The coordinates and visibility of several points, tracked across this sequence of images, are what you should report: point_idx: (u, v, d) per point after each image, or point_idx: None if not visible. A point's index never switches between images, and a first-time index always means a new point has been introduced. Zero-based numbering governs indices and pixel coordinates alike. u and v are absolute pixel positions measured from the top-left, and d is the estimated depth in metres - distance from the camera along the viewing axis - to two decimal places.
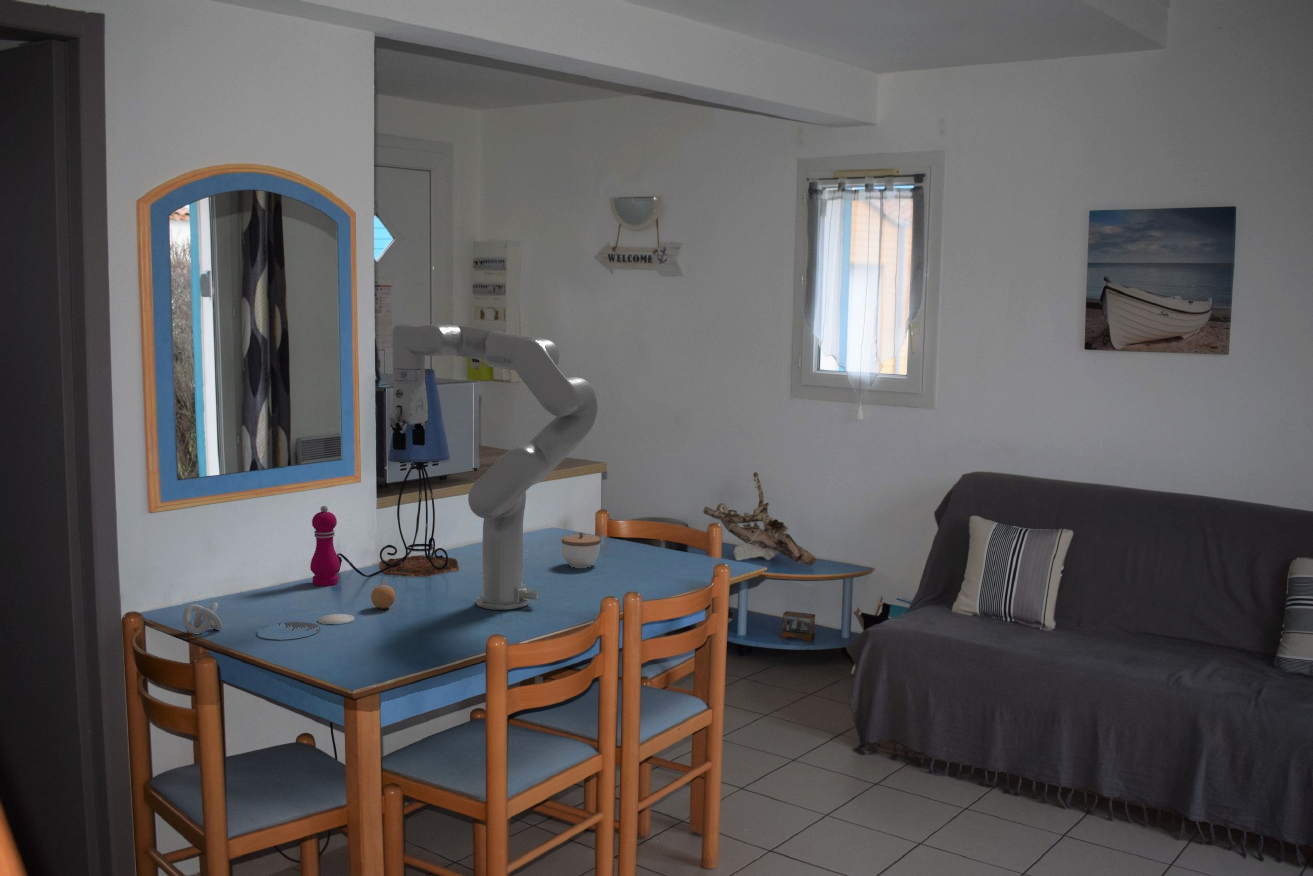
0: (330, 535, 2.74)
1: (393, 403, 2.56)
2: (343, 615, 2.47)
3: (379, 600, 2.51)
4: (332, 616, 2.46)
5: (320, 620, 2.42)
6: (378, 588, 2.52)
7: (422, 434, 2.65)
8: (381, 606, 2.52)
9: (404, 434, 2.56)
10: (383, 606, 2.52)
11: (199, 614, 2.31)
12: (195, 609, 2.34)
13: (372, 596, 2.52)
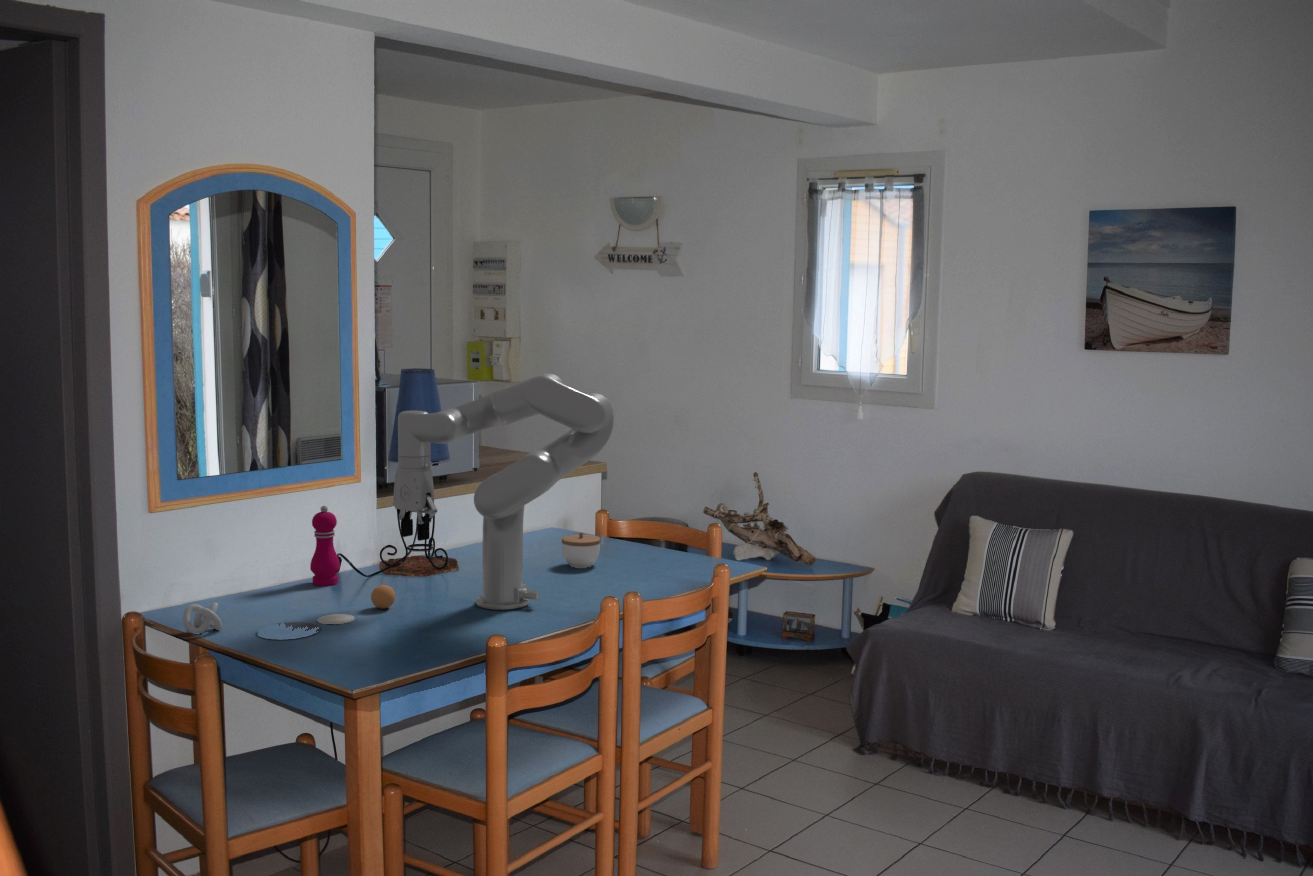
0: (330, 535, 2.74)
1: None
2: (343, 615, 2.47)
3: (379, 600, 2.51)
4: (332, 616, 2.46)
5: (320, 620, 2.42)
6: (378, 588, 2.52)
7: None
8: (381, 606, 2.52)
9: None
10: (383, 606, 2.52)
11: (199, 614, 2.31)
12: (195, 609, 2.34)
13: (372, 596, 2.52)
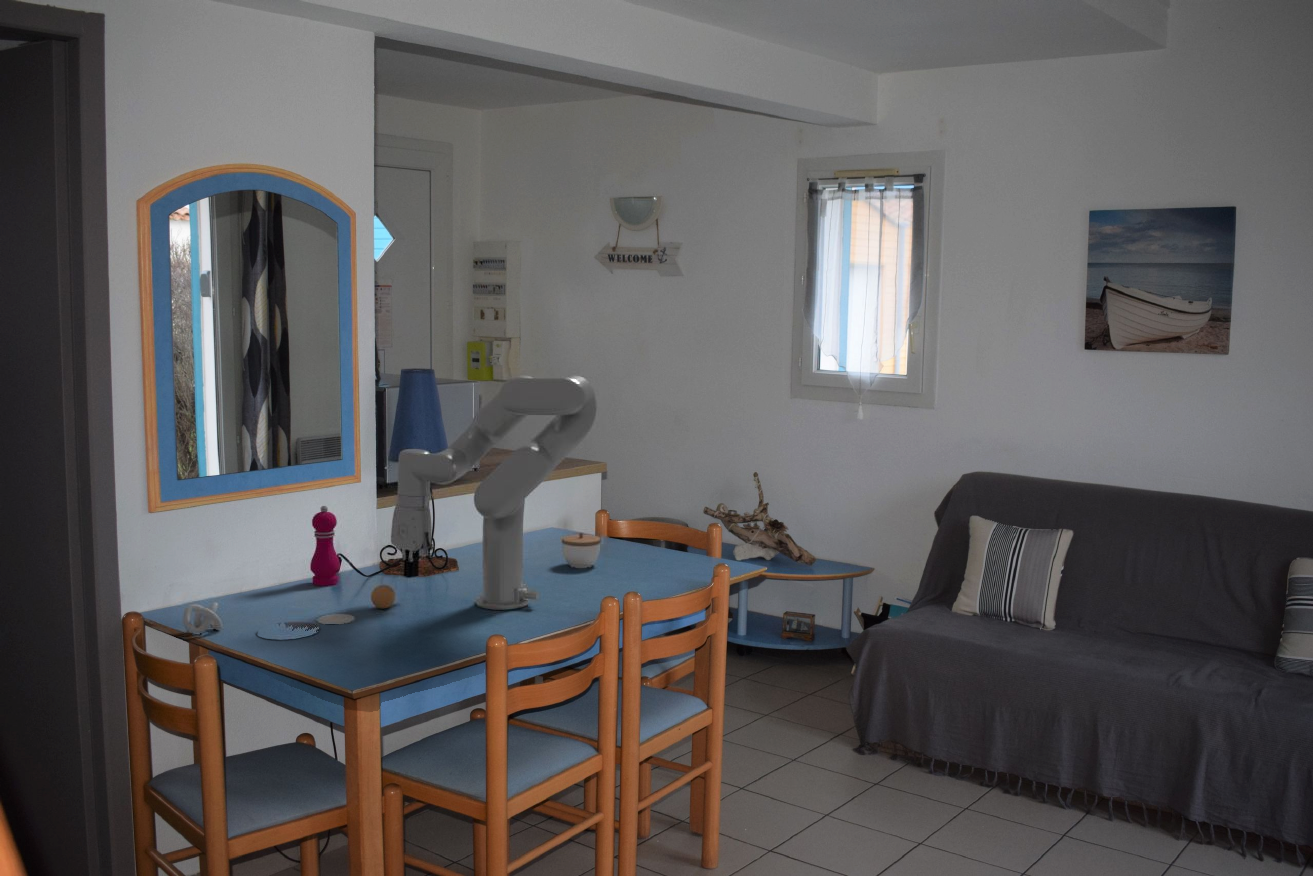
0: (330, 535, 2.74)
1: None
2: (343, 615, 2.47)
3: (379, 600, 2.51)
4: (332, 616, 2.46)
5: (320, 620, 2.42)
6: (378, 588, 2.52)
7: None
8: (381, 606, 2.52)
9: None
10: (383, 606, 2.52)
11: (199, 614, 2.31)
12: (195, 609, 2.34)
13: (372, 596, 2.52)
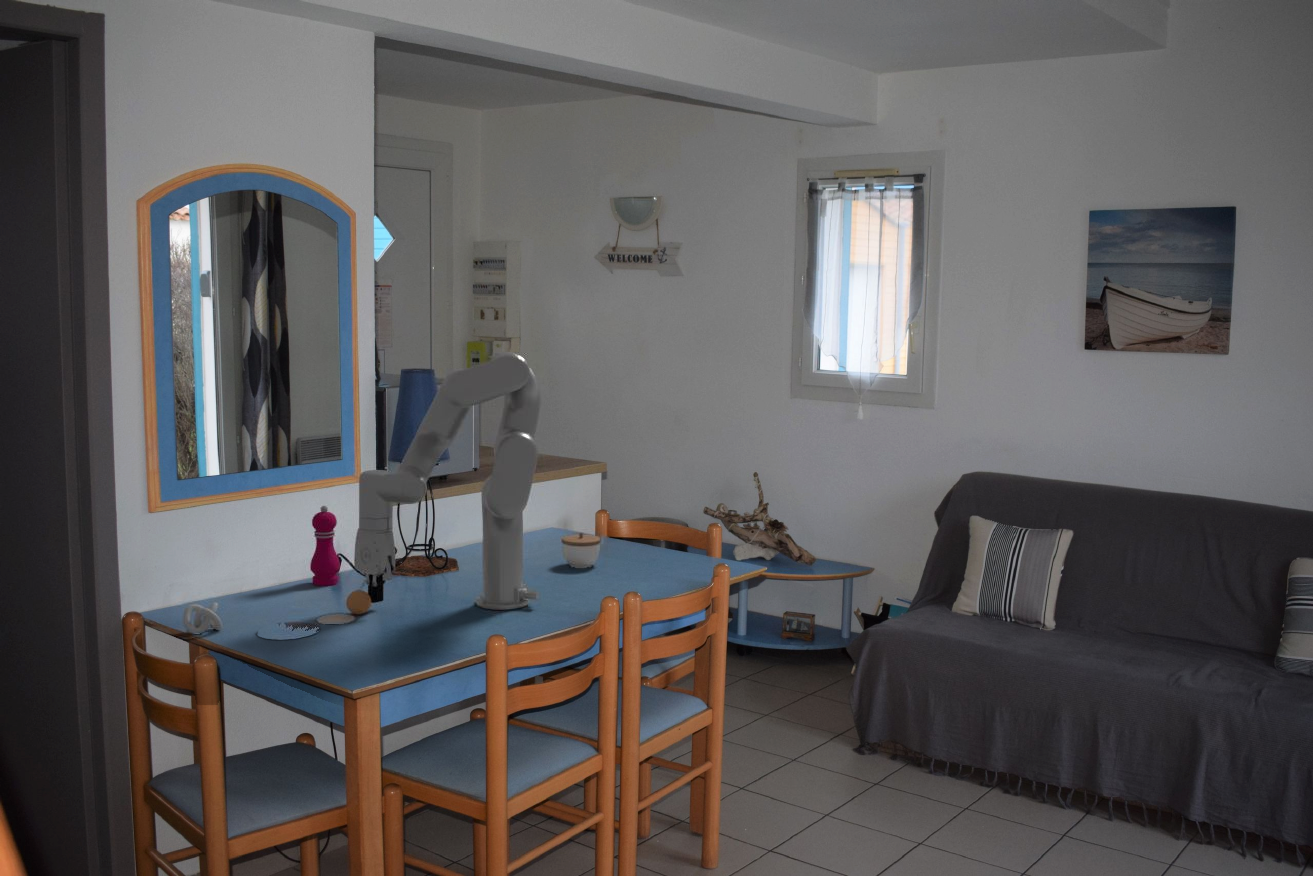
0: (330, 535, 2.74)
1: None
2: (343, 615, 2.47)
3: None
4: (332, 616, 2.46)
5: (320, 620, 2.42)
6: None
7: None
8: None
9: None
10: (370, 601, 2.49)
11: (199, 614, 2.31)
12: (195, 609, 2.34)
13: None
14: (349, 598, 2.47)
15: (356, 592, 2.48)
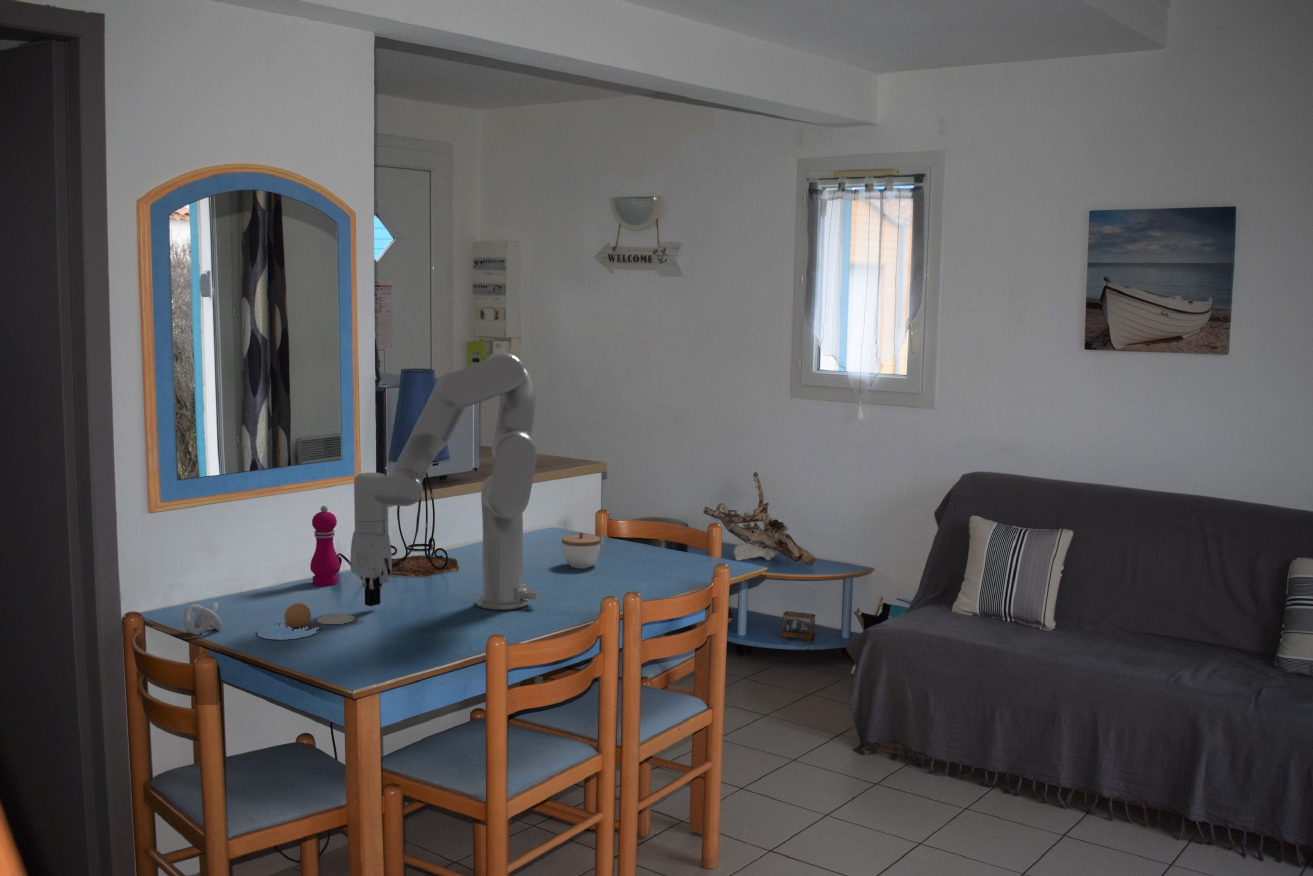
0: (330, 535, 2.74)
1: None
2: (343, 615, 2.47)
3: (302, 627, 2.36)
4: (332, 616, 2.46)
5: (320, 620, 2.42)
6: (289, 625, 2.35)
7: None
8: (308, 622, 2.38)
9: None
10: (309, 620, 2.37)
11: (199, 614, 2.31)
12: (195, 609, 2.34)
13: None
14: (292, 606, 2.36)
15: (301, 604, 2.37)
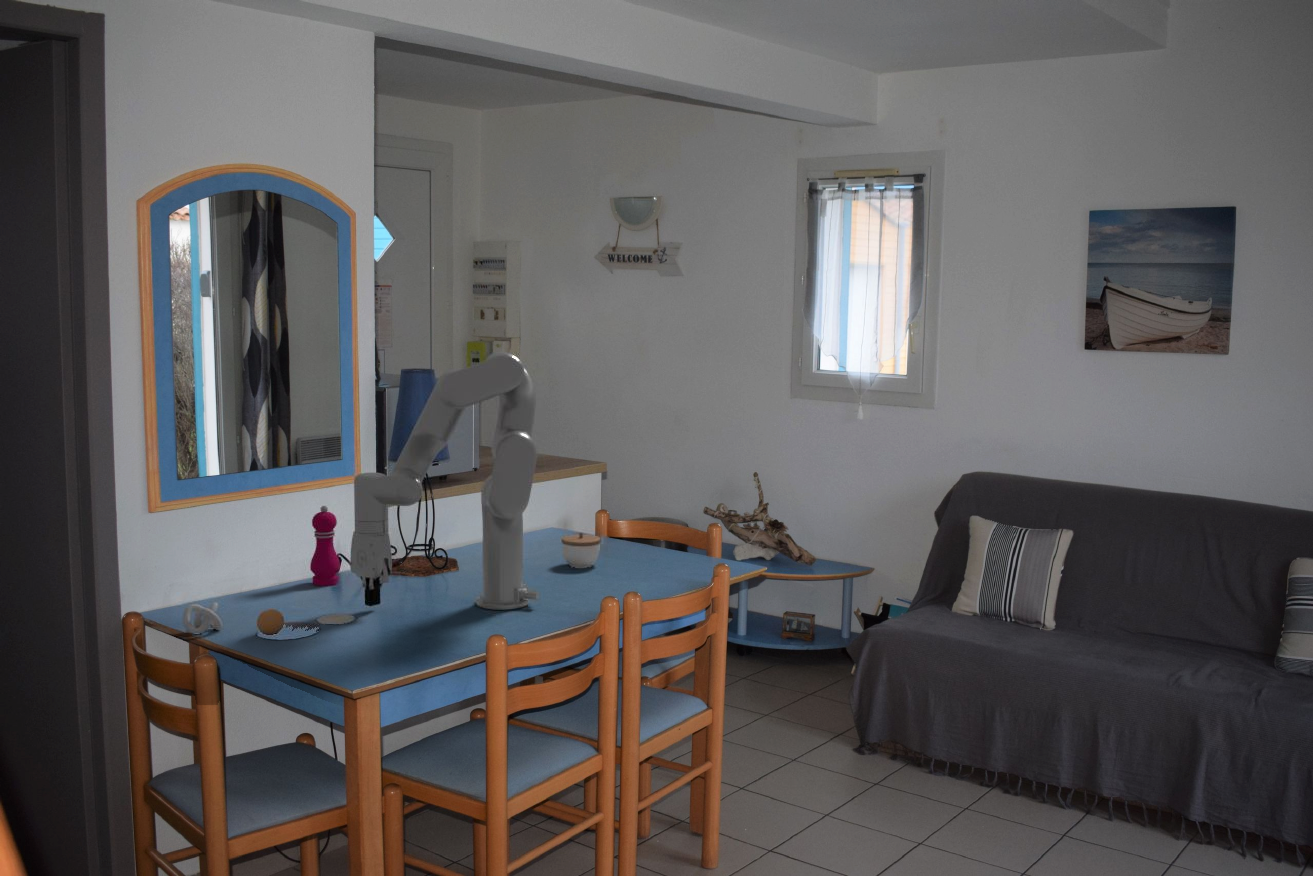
0: (330, 535, 2.74)
1: None
2: (343, 615, 2.47)
3: (280, 614, 2.32)
4: (332, 616, 2.46)
5: (320, 620, 2.42)
6: None
7: None
8: (272, 613, 2.31)
9: None
10: (272, 614, 2.30)
11: (199, 614, 2.31)
12: (195, 609, 2.34)
13: None
14: None
15: (261, 630, 2.30)
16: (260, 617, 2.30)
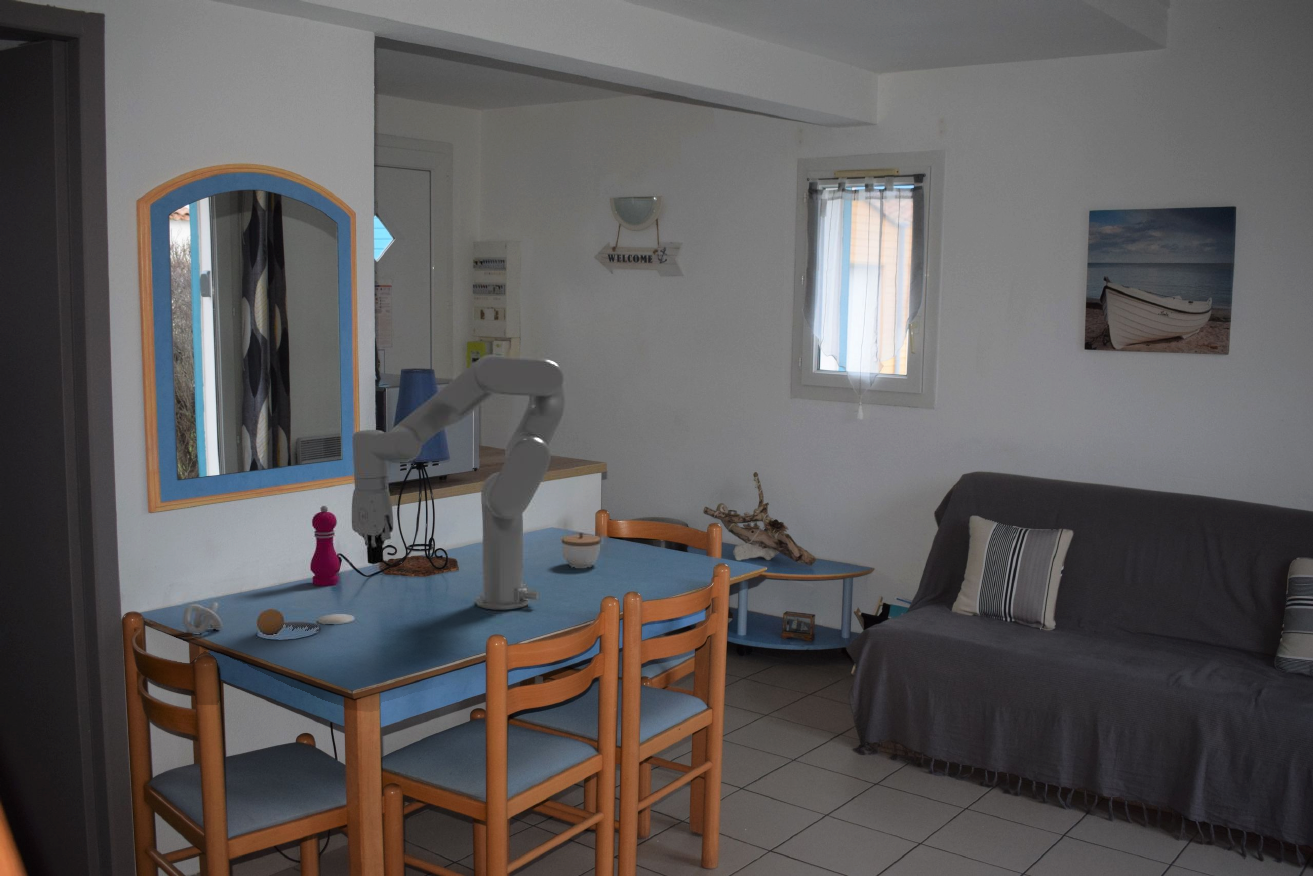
0: (330, 535, 2.74)
1: None
2: (343, 615, 2.47)
3: (280, 614, 2.32)
4: (332, 616, 2.46)
5: (320, 620, 2.42)
6: None
7: None
8: (272, 613, 2.31)
9: None
10: (272, 614, 2.30)
11: (199, 614, 2.31)
12: (195, 609, 2.34)
13: None
14: None
15: (261, 630, 2.30)
16: (260, 617, 2.30)
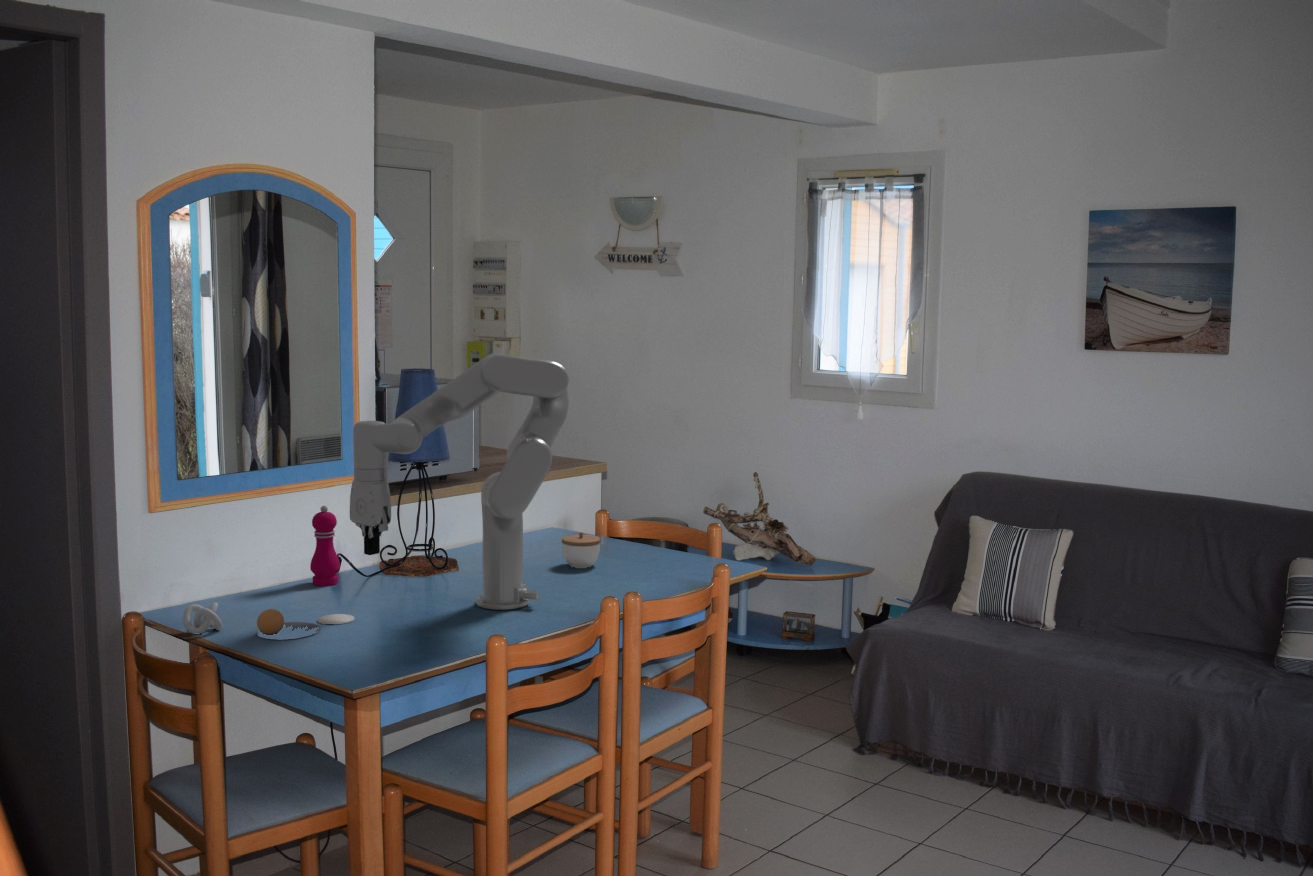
0: (330, 535, 2.74)
1: None
2: (343, 615, 2.47)
3: (280, 614, 2.32)
4: (332, 616, 2.46)
5: (320, 620, 2.42)
6: None
7: None
8: (272, 613, 2.31)
9: None
10: (272, 614, 2.30)
11: (199, 614, 2.31)
12: (195, 609, 2.34)
13: None
14: None
15: (261, 630, 2.30)
16: (260, 617, 2.30)
